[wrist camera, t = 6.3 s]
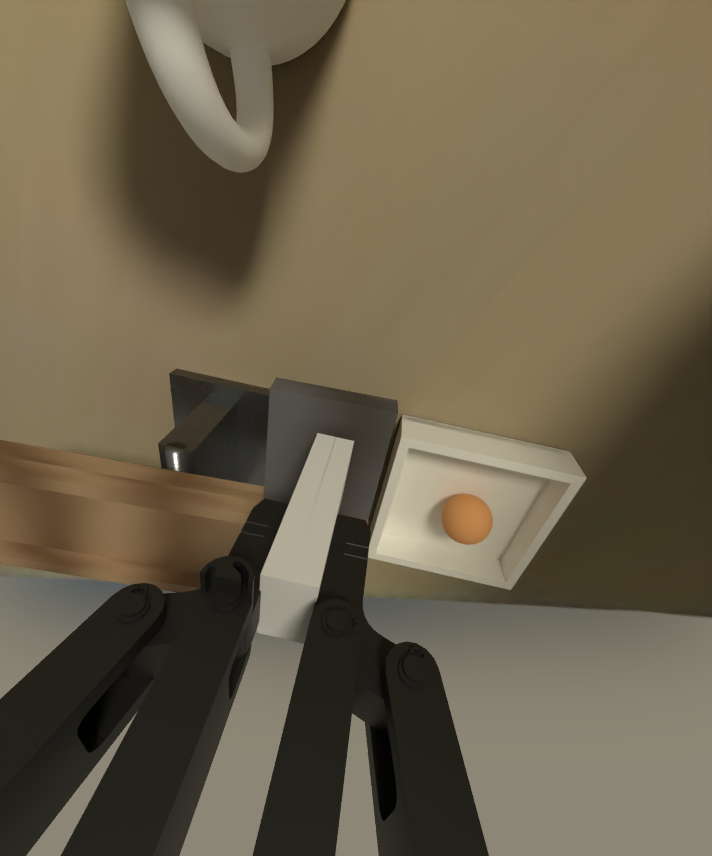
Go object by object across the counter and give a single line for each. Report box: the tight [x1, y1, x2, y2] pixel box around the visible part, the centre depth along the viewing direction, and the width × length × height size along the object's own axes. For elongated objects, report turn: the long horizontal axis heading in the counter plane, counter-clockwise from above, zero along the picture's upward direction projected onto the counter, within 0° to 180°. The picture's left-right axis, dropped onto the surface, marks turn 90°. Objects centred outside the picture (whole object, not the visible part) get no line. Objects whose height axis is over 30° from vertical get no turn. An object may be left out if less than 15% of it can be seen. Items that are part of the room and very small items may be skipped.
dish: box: [368, 414, 587, 590], centre depth 24 cm, size 11×11×3 cm
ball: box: [441, 494, 493, 545], centre depth 24 cm, size 3×3×3 cm
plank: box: [0, 378, 398, 592], centre depth 17 cm, size 20×13×3 cm, turn 80°
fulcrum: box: [158, 369, 270, 486], centre depth 23 cm, size 7×10×7 cm
